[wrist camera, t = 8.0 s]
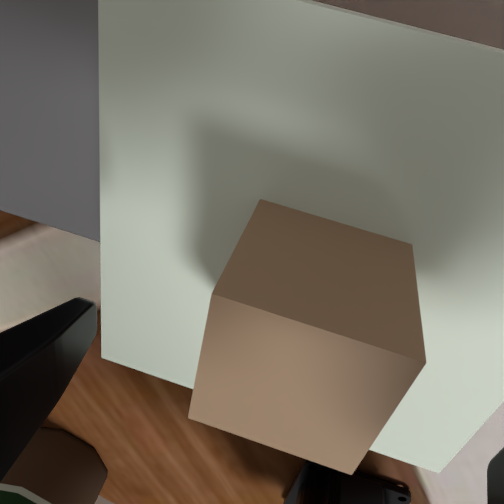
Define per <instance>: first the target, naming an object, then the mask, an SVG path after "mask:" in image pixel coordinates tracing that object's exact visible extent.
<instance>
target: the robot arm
mask: <svg viewBox="0 0 504 504" xmlns="http://www.w3.org/2000/svg"><path fill="white" fill-rule="evenodd" d="M96 332H97V306H96V304H95V302H93V301H90V300H87V299H84V298H80V297H78V298H74V299H72V300H70V301H68V302H65V303H63V304H61V305H59V306H57V307H55V308H53V309H50V310H48V311H46V312H44V313H42V314H40V315H38V316H35V317H33V318H31V319H29V320H27V321H25V322H23V323H21V324H18V325H16V326H14V327H12V328H10V329H8V330H6V331H3V332H1V333H0V483H1V481H2V480H3V479H4V477H5V476H6V474H7V473H8V472H9V470H10V469H11V467H12V466H13V465H14V463H15V462H16V460H17V459H18V457H19V456H20V455H21V453H22V452H23V450H24V449H25V448H26V446H27V445H28V443H29V442H30V441H31V439H32V438H33V436H34V435H35V434H36V432H37V431H38V429H39V428H40V427H41V425H42V424H43V422H44V421H45V420H46V418H47V417H48V415H49V414H50V413H51V411H52V410H53V408H54V407H55V405H56V404H57V402H58V401H59V399H60V398H61V396H62V395H63V393H64V391H65V389H66V388H67V386H68V384H69V382H70V381H71V379H72V377H73V375H74V373H75V372H76V370H77V368H78V366H79V364H80V363H81V361H82V359H83V357H84V356H85V354H86V352H87V350H88V348H89V347H90V345H91V343H92V341H93V339H94V337H95V335H96ZM487 496H488V504H504V448H503V449H502V450H501V451H500V452H499V453H498V454H497V455H496V456H495V457H494V458H493V459H492V460H491V461H490V463H489V465H488V469H487ZM410 502H411V493H410V491H409V490H407V489H405V488H403V487H400V486H397V485H394V484H391V483H388V482H385V481H382V480H380V479H377V478H374V477H371V476H368V475H365V474H362V473H359V472H357V471H354V473H353V474H352V475H350V474H347V473H344V472H341V471H338V470H335V469H332V468H330V467H327V466H324V465H321V464H318V463H315V462H312V461H309V460H307V459H305V460H304V462H303V464H302V466H301V468H300V470H299V472H298V474H297V476H296V478H295V480H294V482H293V484H292V486H291V488H290V489H289V491H288V493H287V495H286V497H285V499H284V503H283V504H409V503H410Z"/></svg>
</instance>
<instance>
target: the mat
mask: <svg viewBox="0 0 504 504" xmlns="http://www.w3.org/2000/svg"><path fill="white" fill-rule="evenodd" d="M0 210H1V211H4V212H7V213H10V214H14V215H17V216H20V217H23V218H26V219H29V220H32V221H36V222H39V223H42V224H45V225H48V226H51V227H54V228H58V229H61V230H64V231H67V232H70V233H73V234H76V235H80V236H83V237H86V238H89V239H92V240H95V241H98V242H100V151H99V42H98V0H0Z"/></svg>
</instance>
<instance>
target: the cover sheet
mask: <svg viewBox="0 0 504 504" xmlns="http://www.w3.org/2000/svg"><path fill="white" fill-rule="evenodd" d="M98 42H99V151H100V259H101V358H103V359H106V360H109V361H112V362H115V363H118V364H121V365H124V366H127V367H130V368H133V369H136V370H138V371H141V372H144V373H147V374H150V375H153V376H156V377H159V378H162V379H165V380H168V381H171V382H173V383H176V384H179V385H182V386H185V387H188V388H191V389H193V393H192V398H191V404H190V409H189V414H188V418H189V419H192V420H195V421H198V422H201V423H204V424H206V425H209V426H212V427H215V428H218V429H221V430H224V431H226V432H229V433H232V434H235V435H238V436H241V437H244V438H247V439H249V440H252V441H255V442H258V443H261V444H264V445H267V446H269V447H272V448H275V449H278V450H281V451H284V452H287V453H289V454H292V455H295V456H298V457H301V458H304V459H307V460H309V461H312V462H315V463H318V464H321V465H324V466H327V467H330V468H332V469H335V470H338V471H341V472H344V473H347V474H350V475H352V474H353V473H354V471H355V470H356V468H357V467H358V465H359V464H360V462H361V461H362V459H363V458H364V456H365V455H366V453H367V452H368V450H372V451H375V452H378V453H380V454H383V455H386V456H389V457H392V458H395V459H398V460H401V461H404V462H407V463H410V464H413V465H415V466H418V467H421V468H424V469H427V470H430V471H433V472H436V473H440V472H441V471H442V469H443V468H444V467H445V466H446V465H447V464H448V463H449V462H450V460H451V459H452V458H453V457H454V456H455V455H456V454H457V453H458V452H459V450H460V449H461V448H462V447H463V446H464V445H465V444H466V443H467V442H468V440H469V439H470V438H471V437H472V436H473V435H474V434H475V433H476V431H477V430H478V429H479V428H480V427H481V426H482V425H483V424H484V423H485V421H486V420H487V419H488V418H489V417H490V416H491V415H492V414H493V413H494V411H495V410H496V409H497V408H498V407H499V406H500V405H501V404H502V402H503V401H504V50H503V49H500V48H496V47H492V46H488V45H484V44H480V43H476V42H472V41H468V40H464V39H461V38H457V37H453V36H449V35H445V34H441V33H437V32H433V31H429V30H425V29H422V28H418V27H414V26H410V25H406V24H402V23H398V22H394V21H390V20H386V19H383V18H379V17H375V16H371V15H367V14H363V13H359V12H355V11H351V10H348V9H344V8H340V7H336V6H332V5H328V4H324V3H320V2H316V1H312V0H98Z"/></svg>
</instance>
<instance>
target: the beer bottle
mask: <svg viewBox="0 0 504 504" xmlns="http://www.w3.org/2000/svg"><path fill="white" fill-rule="evenodd" d="M106 478H107V469H106V467H105V466H104V464H103V462H102V461H101V459H100V457H99V455H98V454H97V452H96V450H95V449H94V448H92V447H90V446H89V445H87V444H85V443H84V442H82V441H80V440H79V439H77V438H75V437H74V436H72V435H70V434H69V433H67V432H65V431H64V430H58V429H50V428H41V427H40V428H39V429H38V431H37V432H36V434H35V435H34V436H33V438H32V439H31V441H30V442H29V443H28V445H27V446H26V448H25V449H24V450H23V452H22V453H21V455H20V456H19V457H18V459H17V460H16V462H15V463H14V465H13V466H12V467H11V469H10V470H9V472H8V473H7V474H6V476H5V477H4V479H3V480H2V481H1V483H0V504H94V503H95V501H96V499H97V497H98V495H99V493H100V491H101V489H102V487H103V484H104V482H105V480H106Z"/></svg>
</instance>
